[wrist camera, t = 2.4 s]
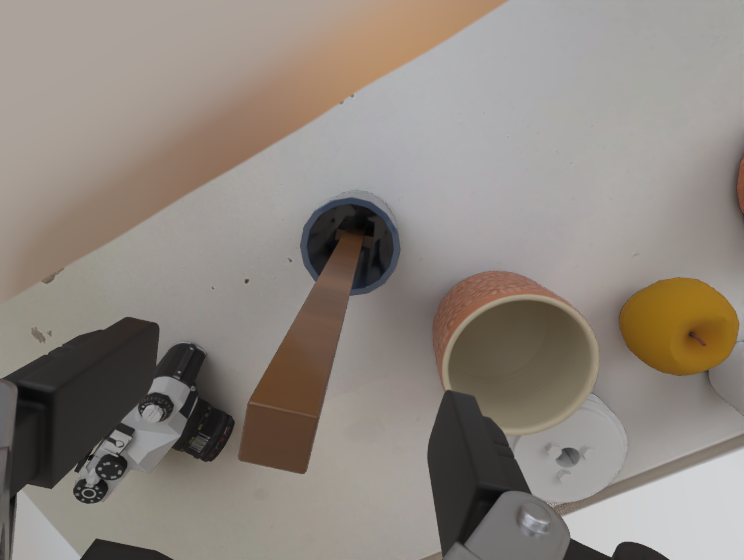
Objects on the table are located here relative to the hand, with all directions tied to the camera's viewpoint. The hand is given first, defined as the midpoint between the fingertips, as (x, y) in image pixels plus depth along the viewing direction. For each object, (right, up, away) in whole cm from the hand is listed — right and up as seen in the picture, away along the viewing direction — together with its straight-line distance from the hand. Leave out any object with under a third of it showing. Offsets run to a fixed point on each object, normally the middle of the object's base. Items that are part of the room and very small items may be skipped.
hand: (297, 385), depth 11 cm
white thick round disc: (+22, -14, +35) cm, 44 cm away
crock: (+1, +8, +29) cm, 30 cm away
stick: (+1, +8, +29) cm, 30 cm away
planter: (+14, -1, +32) cm, 35 cm away
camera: (-19, -11, +35) cm, 41 cm away
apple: (+30, 0, +31) cm, 43 cm away
